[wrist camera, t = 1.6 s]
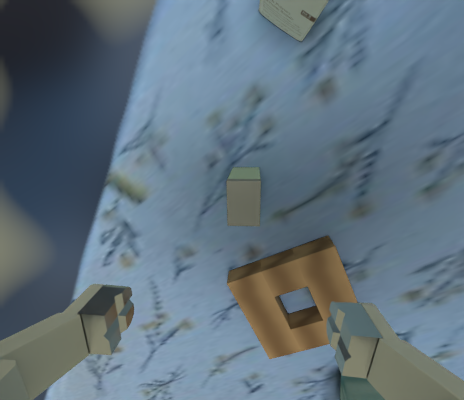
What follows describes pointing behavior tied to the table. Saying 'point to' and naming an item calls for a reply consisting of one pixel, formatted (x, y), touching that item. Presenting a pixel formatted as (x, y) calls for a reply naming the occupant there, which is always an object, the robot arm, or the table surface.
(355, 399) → the flower pot
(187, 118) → the table surface
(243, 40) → the table surface
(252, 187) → the keyed peg
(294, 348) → the walnut slot block
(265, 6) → the skincare box
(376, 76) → the table surface
